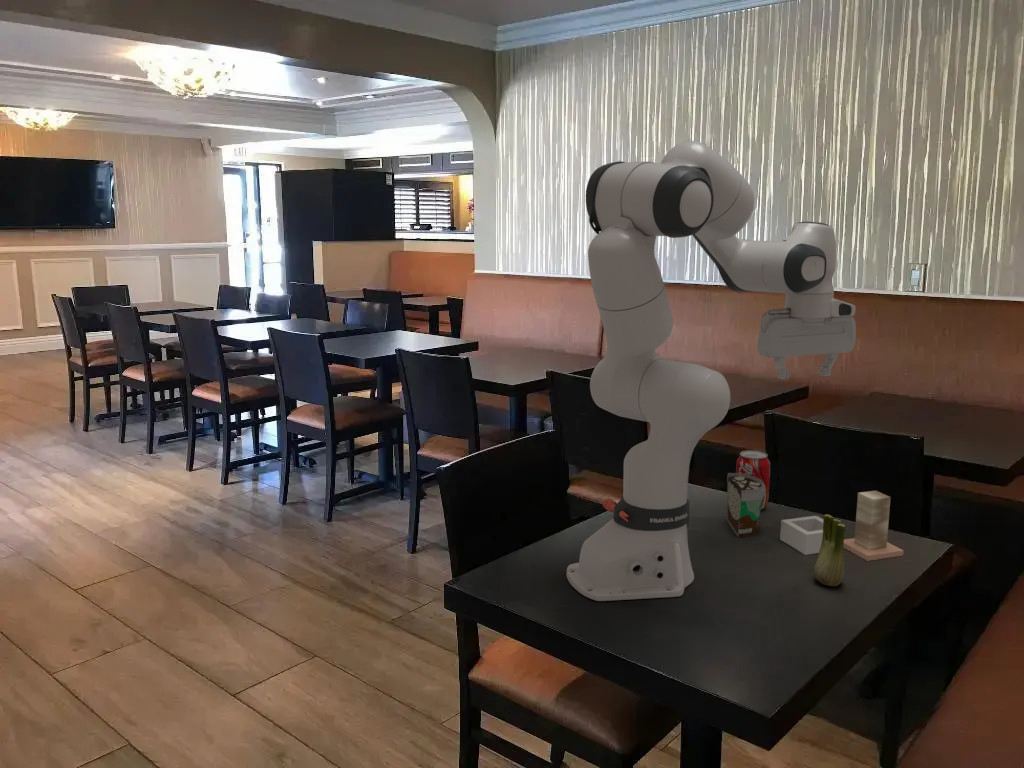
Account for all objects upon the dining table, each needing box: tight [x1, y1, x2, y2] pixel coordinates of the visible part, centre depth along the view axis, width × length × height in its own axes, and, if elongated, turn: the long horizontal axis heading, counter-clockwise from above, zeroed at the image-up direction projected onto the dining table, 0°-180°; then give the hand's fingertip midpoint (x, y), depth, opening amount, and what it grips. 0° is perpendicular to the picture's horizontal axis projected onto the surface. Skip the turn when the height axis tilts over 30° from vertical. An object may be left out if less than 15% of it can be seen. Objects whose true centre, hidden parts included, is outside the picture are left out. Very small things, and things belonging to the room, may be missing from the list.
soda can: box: [735, 449, 771, 511], centre depth 185 cm, size 7×7×12 cm
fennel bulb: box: [813, 513, 846, 587], centre depth 147 cm, size 6×5×12 cm
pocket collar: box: [779, 515, 824, 556], centre depth 164 cm, size 8×8×4 cm
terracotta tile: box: [843, 537, 904, 562], centre depth 162 cm, size 8×8×1 cm
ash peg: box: [854, 490, 892, 550], centre depth 161 cm, size 4×4×10 cm
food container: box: [726, 472, 766, 538], centre depth 173 cm, size 12×6×10 cm, turn 179°
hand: (804, 377), depth 168 cm, fingers open, 8 cm apart
